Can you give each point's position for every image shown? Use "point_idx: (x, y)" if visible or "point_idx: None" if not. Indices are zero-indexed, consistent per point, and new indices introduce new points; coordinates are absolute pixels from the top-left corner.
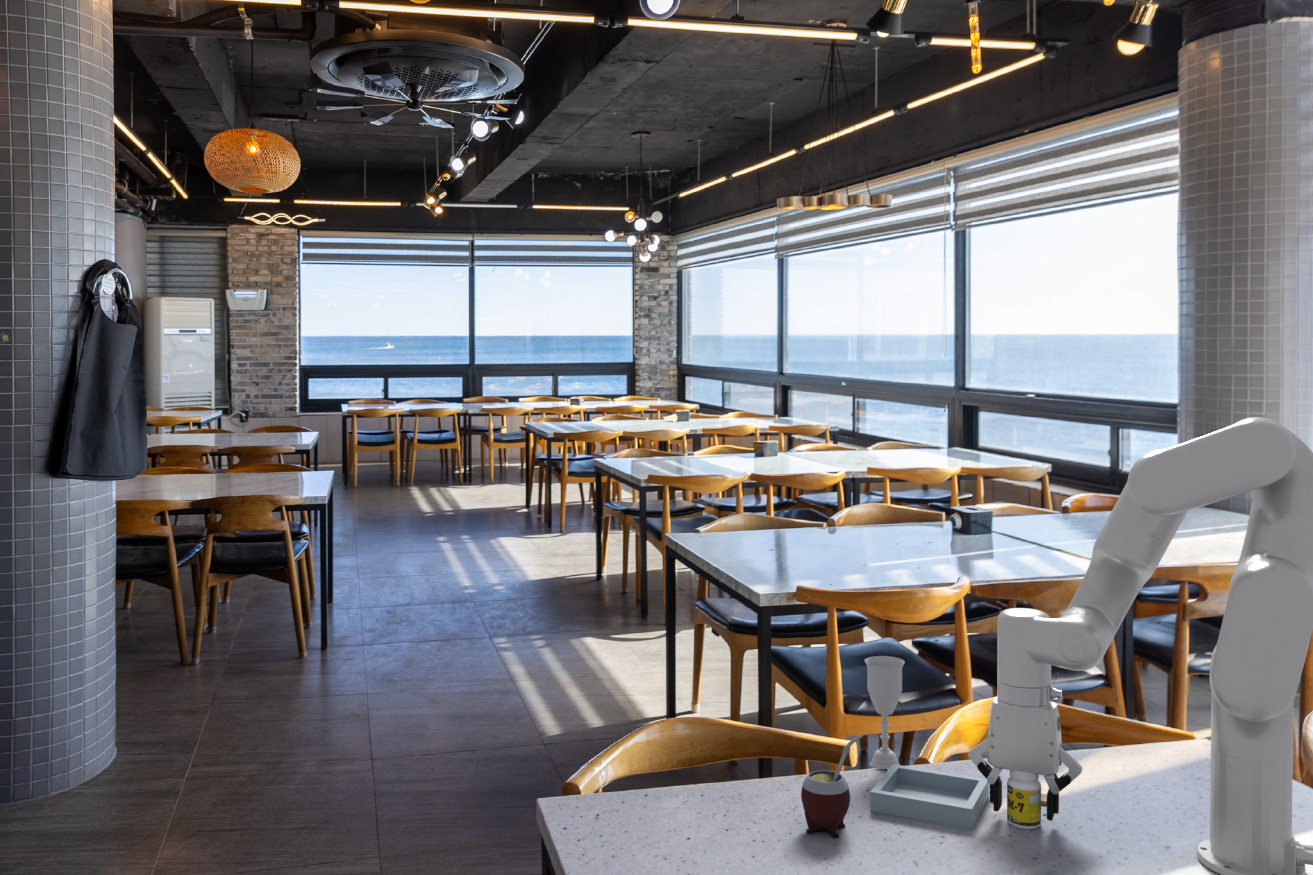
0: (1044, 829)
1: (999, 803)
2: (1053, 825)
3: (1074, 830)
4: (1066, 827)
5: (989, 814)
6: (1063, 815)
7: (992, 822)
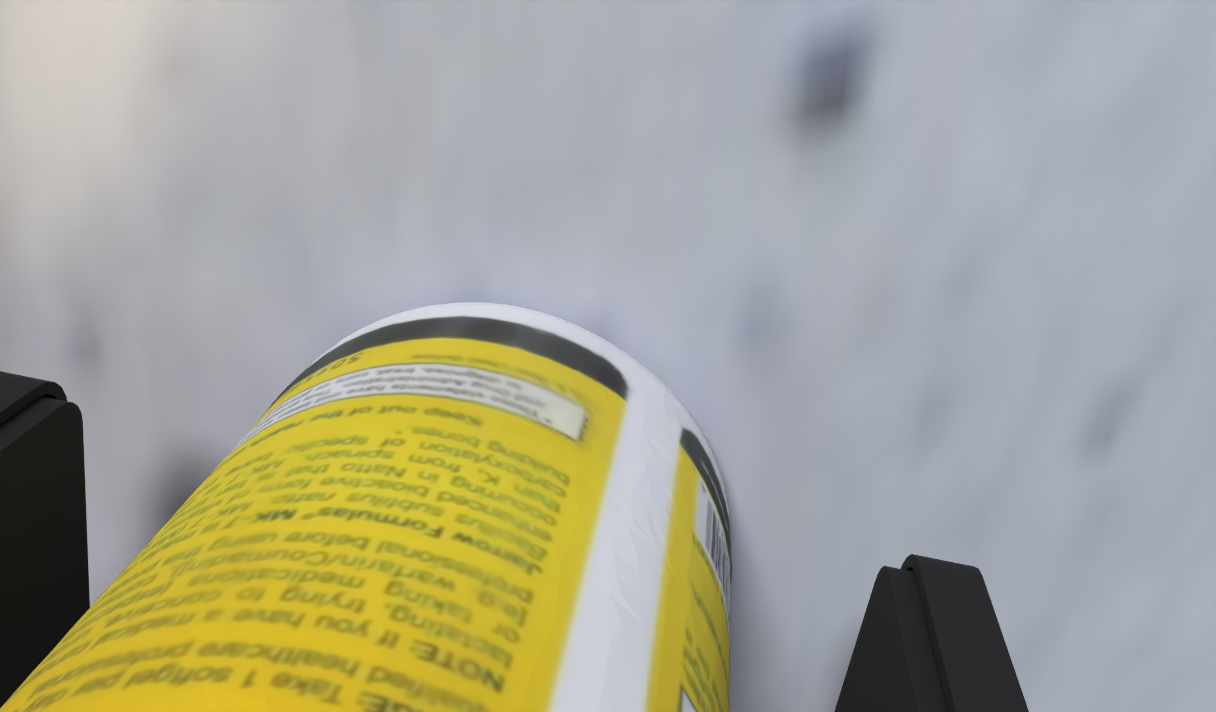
0: (770, 640)
1: (30, 664)
2: (918, 490)
3: (1205, 594)
4: (1107, 518)
5: (9, 311)
6: (1181, 28)
7: (106, 564)
